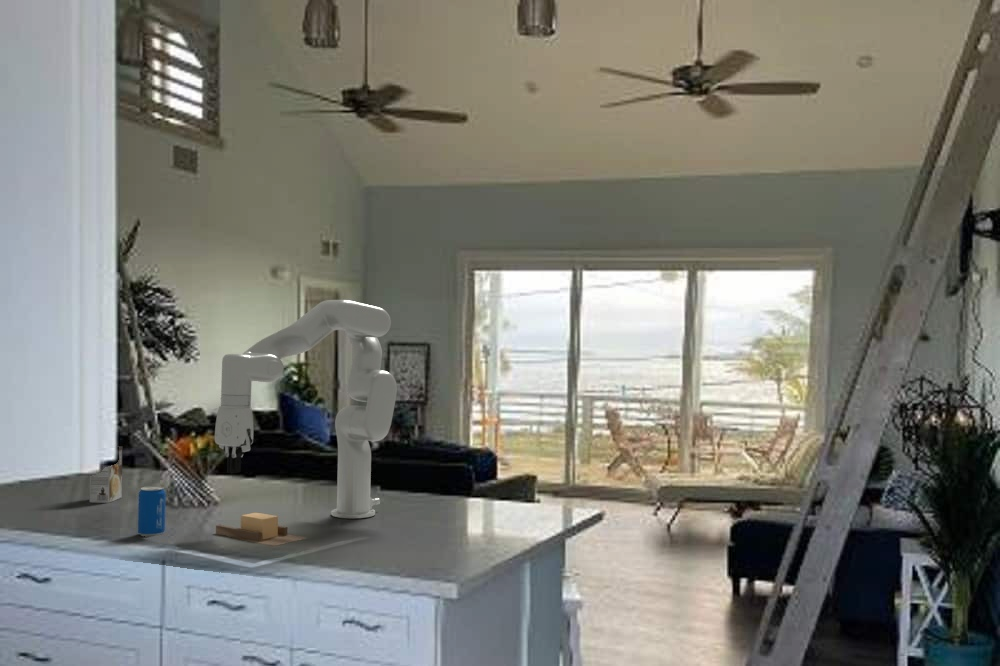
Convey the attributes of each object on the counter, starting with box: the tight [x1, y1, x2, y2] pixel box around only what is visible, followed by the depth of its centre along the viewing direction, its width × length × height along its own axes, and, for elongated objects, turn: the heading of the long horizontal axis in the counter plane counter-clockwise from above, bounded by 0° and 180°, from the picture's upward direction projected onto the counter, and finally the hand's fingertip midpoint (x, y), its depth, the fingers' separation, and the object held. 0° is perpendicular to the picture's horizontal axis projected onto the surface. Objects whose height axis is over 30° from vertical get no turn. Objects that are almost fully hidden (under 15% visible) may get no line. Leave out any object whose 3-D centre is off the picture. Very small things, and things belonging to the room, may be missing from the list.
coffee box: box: [89, 446, 123, 504], centre depth 290 cm, size 9×6×16 cm
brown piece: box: [214, 524, 308, 547], centre depth 239 cm, size 12×22×3 cm, turn 56°
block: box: [240, 512, 279, 539], centre depth 240 cm, size 5×8×5 cm, turn 57°
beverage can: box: [137, 485, 166, 538], centre depth 243 cm, size 6×6×12 cm
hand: (233, 472), depth 245 cm, fingers closed
